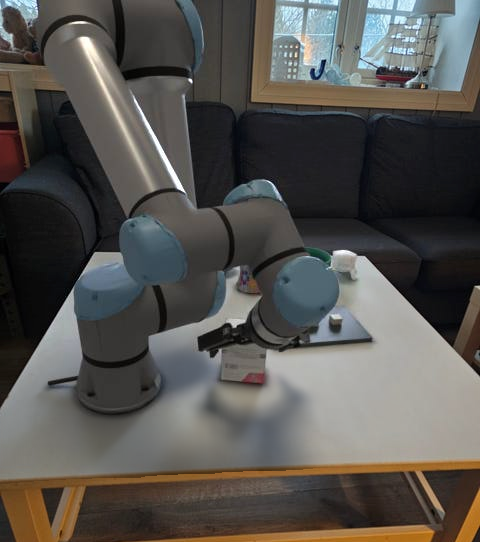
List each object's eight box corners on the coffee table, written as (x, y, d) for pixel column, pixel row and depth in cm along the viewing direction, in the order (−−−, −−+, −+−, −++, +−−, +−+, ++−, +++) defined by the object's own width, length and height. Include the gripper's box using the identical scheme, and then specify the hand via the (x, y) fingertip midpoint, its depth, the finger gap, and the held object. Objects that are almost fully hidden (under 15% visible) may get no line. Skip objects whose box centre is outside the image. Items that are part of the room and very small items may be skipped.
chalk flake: (332, 325, 105) (333, 319, 104) (328, 320, 107) (329, 314, 106) (341, 324, 105) (342, 318, 104) (337, 319, 107) (338, 313, 106)
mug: (262, 298, 117) (265, 261, 112) (229, 291, 119) (231, 255, 114) (272, 280, 127) (276, 246, 122) (242, 275, 129) (245, 241, 124)
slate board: (274, 349, 96) (274, 345, 95) (256, 314, 109) (256, 310, 109) (371, 341, 101) (372, 337, 100) (343, 308, 114) (343, 305, 114)
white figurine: (327, 274, 140) (326, 276, 126) (331, 248, 139) (331, 246, 125) (354, 278, 139) (356, 280, 124) (358, 252, 138) (362, 251, 123)
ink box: (264, 370, 89) (270, 320, 83) (263, 385, 85) (269, 334, 79) (223, 365, 89) (225, 316, 84) (220, 380, 85) (222, 329, 79)
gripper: (192, 351, 59) (182, 373, 79) (358, 338, 65) (309, 361, 85) (188, 299, 61) (179, 333, 81) (349, 291, 67) (304, 325, 87)
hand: (246, 348), depth 83 cm, fingers open, 13 cm apart
